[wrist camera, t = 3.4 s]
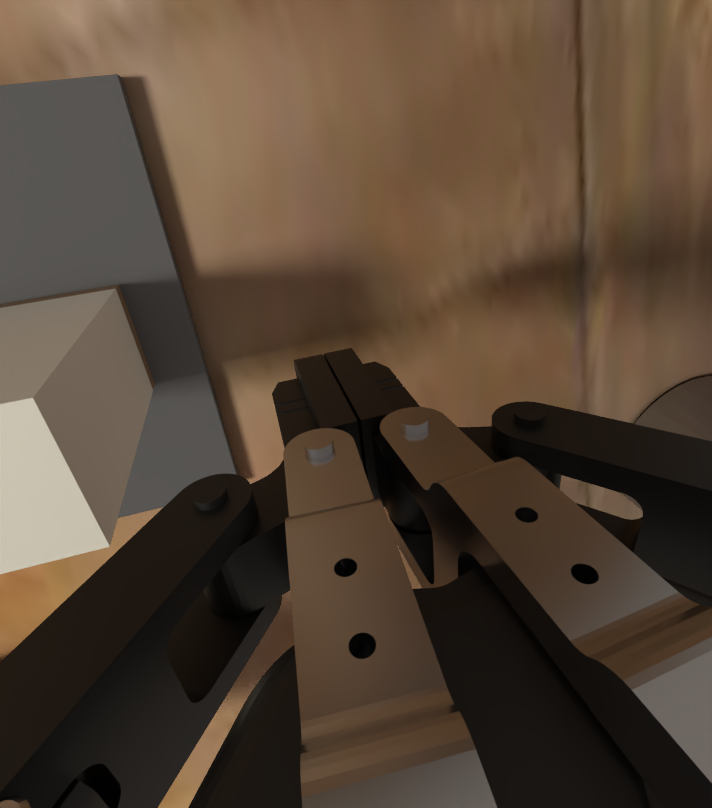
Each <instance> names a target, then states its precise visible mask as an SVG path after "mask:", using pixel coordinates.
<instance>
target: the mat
mask: <svg viewBox="0 0 712 808" xmlns="http://www.w3.org/2000/svg"><path fill="white" fill-rule="evenodd" d="M118 284H119V286H120V289H121V291H122V294H123V297H124V300H125V302H126V305H127V308H128V311H129V313H130V316H131V319H132V322H133V324H134V327H135V330H136V333H137V336H138V338H139V341H140V344H141V347H142V349H143V352H144V355H145V358H146V360H147V363H148V366H149V369H150V371H151V374H152V377H153V380H154V382H155V386H154V390H153V393H152V397H151V400H150V404H149V407H148V411H147V415H146V418H145V422H144V425H143V429H142V433H141V436H140V440H139V443H138V447H137V451H136V454H135V458H134V461H133V465H132V468H131V472H130V476H129V479H128V483H127V486H126V490H125V494H124V497H123V501H122V504H121V508H120V512H119V515H118V518H120V517H124V516H128V515H132V514H136V513H140V512H144V511H149V510H153V509H157V508H161V507H165V506H166V505H167V504H168V503H169V502H170V501H171V500H172V499H173V498H174V497H175V496H176V495H177V494H178V493H179V492H180V491H182V490H183V489H184V488H185V487H187V486H188V485H190V484H191V483H193V482H195V481H197V480H199V479H202V478H204V477H207V476H211V475H216V474H236V475H238V472H237V469H236V465H235V462H234V459H233V455H232V452H231V449H230V445H229V442H228V438H227V435H226V432H225V428H224V425H223V421H222V418H221V415H220V411H219V408H218V405H217V401H216V398H215V394H214V391H213V388H212V384H211V381H210V377H209V374H208V371H207V367H206V364H205V361H204V357H203V354H202V350H201V347H200V344H199V340H198V337H197V333H196V330H195V327H194V323H193V320H192V317H191V313H190V310H189V306H188V303H187V300H186V296H185V293H184V289H183V286H182V283H181V279H180V276H179V273H178V269H177V266H176V262H175V259H174V256H173V252H172V249H171V245H170V242H169V239H168V235H167V232H166V229H165V225H164V222H163V218H162V215H161V212H160V208H159V205H158V201H157V198H156V195H155V191H154V188H153V185H152V181H151V178H150V174H149V171H148V168H147V164H146V161H145V157H144V154H143V151H142V147H141V144H140V141H139V137H138V134H137V130H136V127H135V124H134V120H133V117H132V113H131V110H130V107H129V103H128V100H127V97H126V93H125V90H124V86H123V83H122V80H121V77H120V76H119V75H117V74H115V75H105V76H94V77H84V78H74V79H63V80H53V81H43V82H32V83H22V84H11V85H1V86H0V304H4V303H10V302H16V301H22V300H28V299H34V298H40V297H46V296H52V295H58V294H64V293H70V292H76V291H82V290H88V289H94V288H100V287H106V286H112V285H118Z"/></svg>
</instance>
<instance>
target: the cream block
mask: <svg viewBox="0 0 712 808" xmlns="http://www.w3.org/2000/svg"><path fill="white" fill-rule="evenodd" d="M154 386H155V382H154V380H153V377H152V374H151V371H150V369H149V366H148V363H147V360H146V358H145V355H144V352H143V349H142V347H141V344H140V341H139V338H138V336H137V333H136V330H135V327H134V324H133V322H132V319H131V316H130V313H129V311H128V308H127V305H126V302H125V300H124V297H123V294H122V291H121V289H120V286H119V284H118V285H112V286H106V287H100V288H94V289H88V290H82V291H76V292H70V293H64V294H58V295H52V296H46V297H40V298H34V299H28V300H22V301H16V302H10V303H4V304H0V574H3V573H7V572H11V571H15V570H19V569H23V568H27V567H31V566H35V565H39V564H43V563H47V562H51V561H55V560H59V559H63V558H67V557H71V556H74V555H78V554H82V553H86V552H90V551H94V550H98V549H102V548H106V547H110V544H111V540H112V537H113V533H114V530H115V526H116V522H117V519H118V515H119V512H120V508H121V504H122V501H123V497H124V494H125V490H126V486H127V483H128V479H129V476H130V472H131V468H132V465H133V461H134V458H135V454H136V451H137V447H138V443H139V440H140V436H141V433H142V429H143V425H144V422H145V418H146V415H147V411H148V407H149V404H150V400H151V397H152V393H153V390H154Z"/></svg>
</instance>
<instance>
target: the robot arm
mask: <svg viewBox="0 0 712 808" xmlns="http://www.w3.org/2000/svg"><path fill="white" fill-rule="evenodd" d="M294 365H295V371H296V376H297V379H293V380H288V381H283V382H279V383H278V384H277V386H276V387H275V389H274V391H273V393H272V396H273V400H274V404H275V409H276V413H277V418H278V422H279V426H280V431H281V435H282V440H283V444H284V448H285V449H284V454H283V456H284V459H283V461H282V463H281V464H280V465H279V467H278V468H277V469H276V470H274V471H273V472H272V473H271V474H269V475H268V476H266V477H264V478H262V479H261V480H259V481H256V482H254V483H252V484H250V483H249V482H248V481H247V480H246V479H245V478H244V477H242V476H239V475H236V474H216V475H211V476H207V477H204V478H202V479H199V480H197V481H195V482H193V483H191V484H190V485H188V486H187V487H185V488H184V489H183V490H182V491H180V492H179V493H178V494H177V495H176V496H175V497H174V498H173V499H172V500H171V501H170V502H169V503H168V504H167V505H166V506H165V507H164V508H163V509H161V510H160V511H159V512H158V513H157V514H156V515H155V516H154V517H153V518H152V519H151V520H150V521H149V522H148V523H147V524H146V525H145V526H144V527H142V528H141V529H140V530H139V531H138V532H137V533H136V534H135V535H134V536H133V537H132V538H131V539H130V540H129V541H128V542H127V543H126V544H125V545H124V546H122V547H121V548H120V549H119V550H118V551H117V552H116V553H115V554H114V555H113V556H112V557H111V558H110V559H109V560H108V561H107V562H106V563H105V564H103V565H102V566H101V567H100V568H99V569H98V570H97V571H96V572H95V573H94V574H93V575H92V576H91V577H90V578H89V579H88V580H87V581H86V582H85V583H83V584H82V585H81V586H80V587H79V588H78V589H77V590H76V591H75V592H74V593H73V594H72V595H71V596H70V597H69V598H68V599H67V600H66V601H64V602H63V603H62V604H61V605H60V606H59V607H58V608H57V609H56V610H55V611H54V612H53V613H52V614H51V615H50V616H49V617H48V618H47V619H45V620H44V621H43V622H42V623H41V624H40V625H39V626H38V627H37V628H36V629H35V630H34V631H33V632H32V633H31V634H30V635H29V636H28V637H27V638H25V639H24V640H23V641H22V642H21V643H20V644H19V645H18V646H17V647H16V648H15V649H14V650H13V651H12V652H11V653H10V654H9V655H8V656H6V657H5V658H4V659H3V660H2V661H1V662H0V808H158V806H159V804H160V803H161V801H162V800H163V798H164V796H165V795H166V793H167V791H168V790H169V788H170V787H171V785H172V783H173V782H174V780H175V778H176V777H177V775H178V774H179V772H180V770H181V769H182V767H183V765H184V764H185V762H186V761H187V759H188V757H189V756H190V754H191V752H192V751H193V749H194V748H195V746H196V744H197V743H198V741H199V739H200V738H201V736H202V735H203V733H204V731H205V730H206V728H207V726H208V725H209V723H210V722H211V720H212V718H213V717H214V715H215V713H216V712H217V710H218V709H219V707H220V705H221V704H222V702H223V700H224V699H225V697H226V696H227V694H228V692H229V691H230V689H231V687H232V686H233V684H234V683H235V681H236V679H237V678H238V676H239V674H240V673H241V671H242V670H243V668H244V666H245V665H246V663H247V661H248V660H249V658H250V656H251V655H252V653H253V652H254V650H255V648H256V647H257V645H258V643H259V642H260V640H261V639H262V637H263V635H264V634H265V632H266V630H267V629H268V627H269V626H270V624H271V622H272V621H273V619H274V617H275V616H276V614H277V612H278V610H279V608H280V605H281V601H282V595H283V594H284V593H286V592H288V591H289V590H290V594H291V606H292V619H293V632H294V644H295V645H294V646H292V647H291V648H290V649H288V650H287V651H286V652H285V653H284V654H283V655H282V656H281V657H280V658H279V659H278V660H277V661H276V662H275V663H274V664H273V665H272V666H271V667H270V668H269V669H268V671H267V672H266V673H265V674H264V675H263V676H262V678H261V679H260V681H259V682H258V683H257V685H256V686H255V688H254V689H253V691H252V692H251V693H250V695H249V697H248V698H247V700H246V702H245V704H244V705H243V707H242V709H241V711H240V713H239V714H238V716H237V718H236V720H235V722H234V724H233V726H232V728H231V729H230V731H229V733H228V735H227V737H226V739H225V741H224V742H223V744H222V746H221V748H220V750H219V752H218V754H217V755H216V757H215V759H214V761H213V763H212V765H211V767H210V768H209V770H208V772H207V774H206V776H205V778H204V780H203V781H202V783H201V785H200V787H199V789H198V791H197V793H196V795H195V796H194V798H193V800H192V802H191V804H190V806H189V808H712V376H706V377H702V378H697V379H693V380H691V381H688V382H686V383H684V384H681V385H679V386H677V387H676V388H674V389H672V390H671V391H669V392H668V393H666V394H664V395H663V396H662V397H661V398H659V399H658V400H657V401H656V402H654V403H653V404H652V405H651V406H650V407H649V408H648V409H647V410H646V411H645V412H644V413H643V414H642V415H641V416H640V417H639V418H638V419H637V421H636V422H635V424H632V423H627V422H623V421H618V420H614V419H609V418H605V417H600V416H596V415H591V414H587V413H582V412H578V411H573V410H569V409H564V408H560V407H555V406H551V405H546V404H542V403H536V402H514V403H510V404H506V405H504V406H501V407H500V408H498V409H497V410H496V411H495V412H494V413H493V415H492V426H490V427H457V426H456V425H455V424H454V423H453V422H452V421H450V420H449V419H448V418H447V417H446V416H445V415H444V414H443V413H441V412H439V411H437V410H434V409H430V408H425V407H420V406H419V405H418V404H417V402H416V401H415V400H414V399H413V397H412V396H411V395H410V394H409V392H408V391H407V390H406V389H405V387H403V386H402V384H401V382H400V381H399V380H398V379H396V376H395V375H394V374H393V372H392V371H391V370H390V369H389V368H388V367H386V366H383V365H381V364H379V363H377V362H371V363H366V364H362V362H361V361H360V359H359V358H358V357H357V355H356V354H355V352H354V351H353V349H352V348H349V349H344V350H339V351H334V352H330V353H325V354H324V355H322V354H320V355H316V356H311V357H306V358H301V359H297V360H294ZM561 475H564V476H567V477H570V478H574V479H577V480H580V481H584V482H587V483H590V484H594V485H597V486H600V487H604V488H607V489H610V490H614V491H617V492H620V493H622V494H623V495H625V496H626V497H627V498H628V499H629V500H630V501H631V502H633V503H634V504H635V505H636V506H637V507H638V508H640V509H641V510H642V511H643V517H642V518H639V519H635V520H628V519H623V518H620V517H617V516H614V515H611V514H608V513H605V512H602V511H599V510H596V509H593V508H590V507H586V506H583V505H580V504H577V503H575V502H574V501H572V500H571V499H570V498H569V497H568V496H567V495H565V494H564V493H563V492H562V491H561V490H560V482H561ZM384 507H386V509H387V512H388V515H389V521H388V518H387V516H386V513H385V510H384ZM397 545H398V547H399V549H400V551H401V552H402V554H403V556H404V557H405V559H406V561H407V563H408V564H409V566H410V568H411V570H412V571H413V573H414V575H415V576H416V578H417V580H418V582H419V583H420V585H421V587H422V588H421V589H412V586H411V583H410V581H409V578H408V575H407V572H406V569H405V566H404V564H403V561H402V558H401V555H400V552H399V550H398V547H397Z"/></svg>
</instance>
